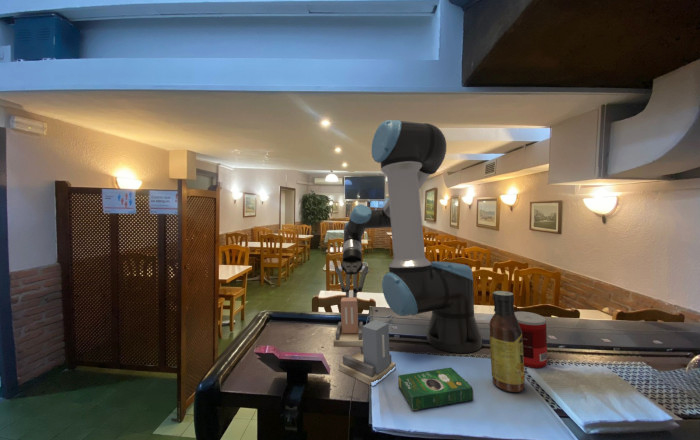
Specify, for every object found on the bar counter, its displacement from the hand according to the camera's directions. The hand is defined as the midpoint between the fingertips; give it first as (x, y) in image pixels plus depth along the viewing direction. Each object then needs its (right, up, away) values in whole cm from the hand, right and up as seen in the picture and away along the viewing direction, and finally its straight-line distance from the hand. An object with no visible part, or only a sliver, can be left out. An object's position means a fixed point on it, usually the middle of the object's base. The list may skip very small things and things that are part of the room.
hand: (351, 309), depth 92 cm
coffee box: (+24, -4, -34) cm, 42 cm away
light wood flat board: (+2, -7, -16) cm, 18 cm away
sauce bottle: (+34, -6, -33) cm, 48 cm away
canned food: (+45, -5, -24) cm, 51 cm away
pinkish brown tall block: (0, -5, -6) cm, 8 cm away
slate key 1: (+6, -5, -28) cm, 29 cm away
